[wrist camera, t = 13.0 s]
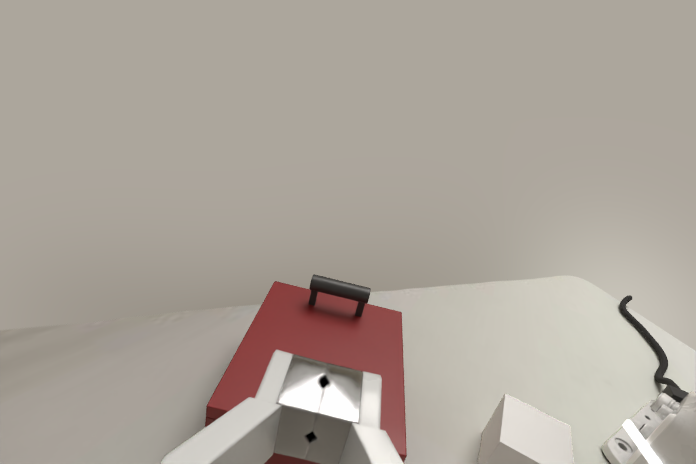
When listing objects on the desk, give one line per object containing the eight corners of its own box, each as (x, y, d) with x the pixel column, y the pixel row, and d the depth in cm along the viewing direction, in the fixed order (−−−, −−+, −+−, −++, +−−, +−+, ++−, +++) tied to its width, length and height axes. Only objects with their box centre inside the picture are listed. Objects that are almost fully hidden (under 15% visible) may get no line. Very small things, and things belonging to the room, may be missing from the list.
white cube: (482, 431, 38) (505, 392, 36) (541, 464, 36) (570, 425, 34) (474, 482, 33) (499, 441, 30) (542, 523, 31) (576, 483, 28)
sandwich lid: (273, 289, 41) (278, 254, 39) (398, 320, 40) (410, 287, 38) (205, 417, 26) (208, 371, 24) (402, 466, 26) (421, 424, 24)
